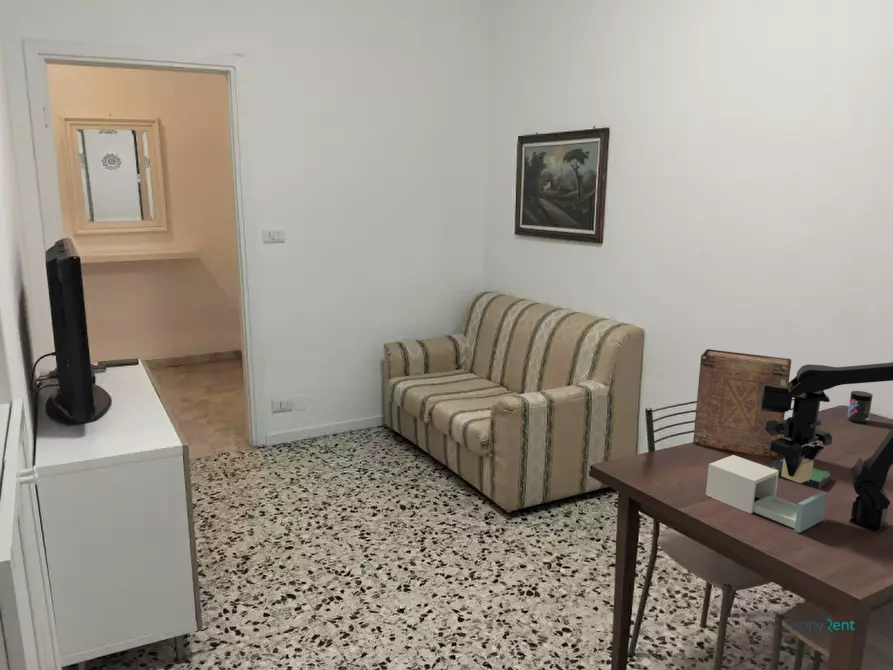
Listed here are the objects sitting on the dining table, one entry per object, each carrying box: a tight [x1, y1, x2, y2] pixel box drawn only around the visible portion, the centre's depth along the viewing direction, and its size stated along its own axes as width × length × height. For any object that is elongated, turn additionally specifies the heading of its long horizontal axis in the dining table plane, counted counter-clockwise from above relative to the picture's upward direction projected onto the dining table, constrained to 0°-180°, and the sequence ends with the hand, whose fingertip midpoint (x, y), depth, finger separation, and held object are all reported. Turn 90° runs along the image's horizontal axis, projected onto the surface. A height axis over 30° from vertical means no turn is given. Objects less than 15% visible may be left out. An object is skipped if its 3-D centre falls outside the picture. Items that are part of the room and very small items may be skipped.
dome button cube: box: [781, 457, 815, 484], centre depth 173 cm, size 5×5×5 cm
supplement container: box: [846, 390, 873, 424], centre depth 245 cm, size 7×7×10 cm
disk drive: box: [765, 457, 832, 490], centre depth 197 cm, size 10×3×15 cm
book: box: [692, 348, 792, 460], centre depth 215 cm, size 25×9×30 cm, turn 61°
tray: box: [753, 491, 828, 534], centre depth 171 cm, size 13×11×7 cm
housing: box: [705, 454, 779, 515], centre depth 181 cm, size 13×11×9 cm
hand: (796, 473), depth 173 cm, fingers closed on dome button cube, 5 cm apart
